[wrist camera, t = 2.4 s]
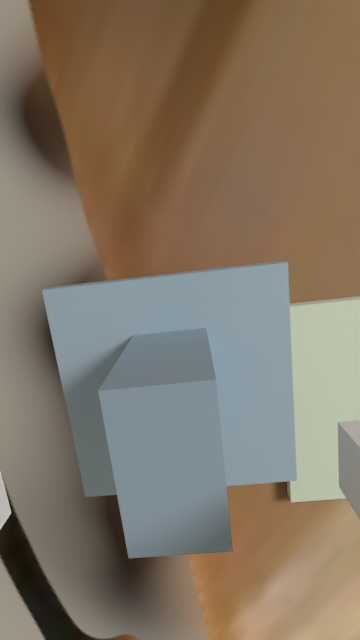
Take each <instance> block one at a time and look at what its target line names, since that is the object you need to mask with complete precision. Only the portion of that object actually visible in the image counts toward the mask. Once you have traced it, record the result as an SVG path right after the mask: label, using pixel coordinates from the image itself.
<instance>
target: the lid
mask: <svg viewBox="0 0 360 640" xmlns="http://www.w3.org/2000/svg"><path fill="white" fill-rule="evenodd" d="M42 293H43V297H44V302H45V307H46V312H47V317H48V321H49V326H50V331H51V336H52V340H53V345H54V350H55V354H56V360H57V365H58V369H59V374H60V379H61V383H62V388H63V393H64V398H65V403H66V408H67V412H68V417H69V422H70V426H71V432H72V436H73V441H74V446H75V451H76V456H77V460H78V465H79V470H80V474H81V479H82V484H83V489H84V494H85V497H92V496H105V495H117V496H118V502H119V507H120V513H121V519H122V524H123V529H124V535H125V540H126V546H127V551H128V557H129V558H140V557H154V556H169V555H185V554H200V553H215V552H230V551H233V549H232V539H231V529H230V518H229V508H228V498H227V487H226V486H234V485H247V484H260V483H273V482H286V481H297V470H296V446H295V423H294V399H293V375H292V351H291V327H290V304H289V280H288V262H283V261H276V262H267V263H259V264H250V265H241V266H232V267H223V268H215V269H206V270H197V271H188V272H179V273H171V274H162V275H153V276H144V277H135V278H127V279H118V280H109V281H100V282H91V283H83V284H74V285H65V286H57V287H51V288H47V289H44V290H42Z"/></svg>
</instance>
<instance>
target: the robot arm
mask: <svg viewBox="0 0 360 640" xmlns="http://www.w3.org/2000/svg"><path fill="white" fill-rule="evenodd" d="M338 467H339V487H340V489H341V491H342V492H343V494H344V495H345V497H346V499H347V500H348V502H349V503H350V505H351V506H352V508H353V510H354V511H355V513H356V514H357V516H358V517H359V519H360V421H359V420H355V421H343V422H338ZM10 514H11V509H10V506H9V502H8V498H7V494H6V490H5V486H4V482H3V479H2V475H1V471H0V529H1V528H2V526H3V525H4V523H5V522H6V520H7V519H8V517H9V516H10Z"/></svg>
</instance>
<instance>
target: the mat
mask: <svg viewBox="0 0 360 640" xmlns="http://www.w3.org/2000/svg"><path fill="white" fill-rule="evenodd" d="M290 327H291V351H292V375H293V399H294V423H295V446H296V470H297V481H287V493H288V496H289V498H290V501H291V502H302V501H316V500H329V499H343V498H346V497H345V495H344V494H343V492H342V491H341V489H340V487H339V467H338V422H343V421H355V420H359V421H360V296H356V297H347V298H338V299H328V300H319V301H309V302H300V303H291V304H290Z"/></svg>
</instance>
